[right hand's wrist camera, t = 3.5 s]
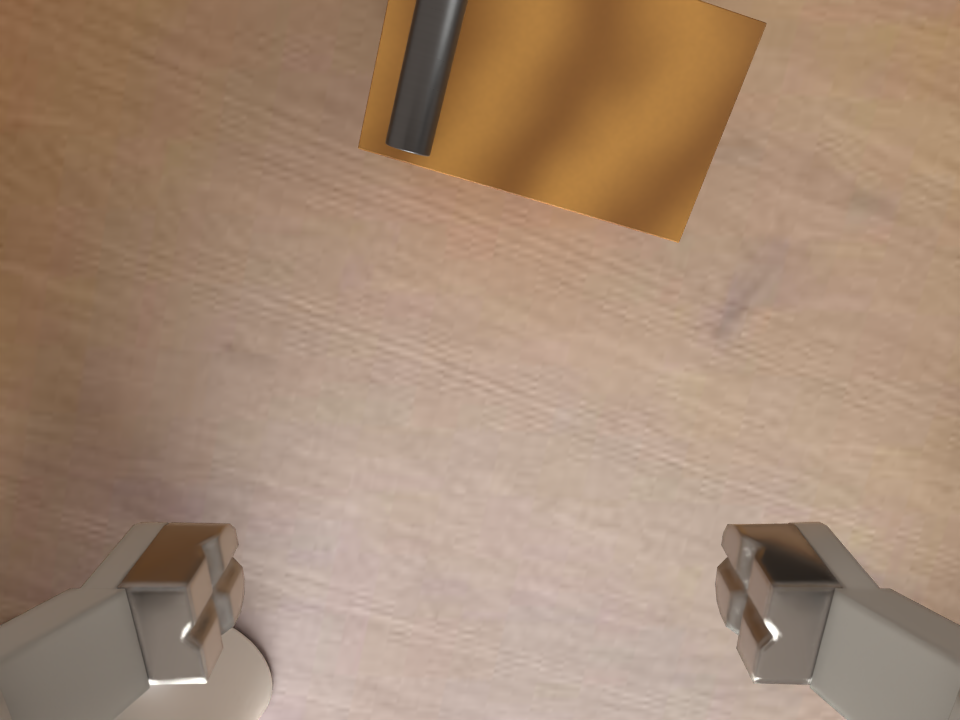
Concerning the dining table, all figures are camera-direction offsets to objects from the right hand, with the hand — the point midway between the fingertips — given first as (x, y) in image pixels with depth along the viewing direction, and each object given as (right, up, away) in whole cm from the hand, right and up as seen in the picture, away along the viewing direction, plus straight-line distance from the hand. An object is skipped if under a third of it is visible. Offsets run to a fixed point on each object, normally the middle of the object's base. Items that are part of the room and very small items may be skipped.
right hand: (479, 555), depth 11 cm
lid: (+3, +15, +17) cm, 23 cm away
